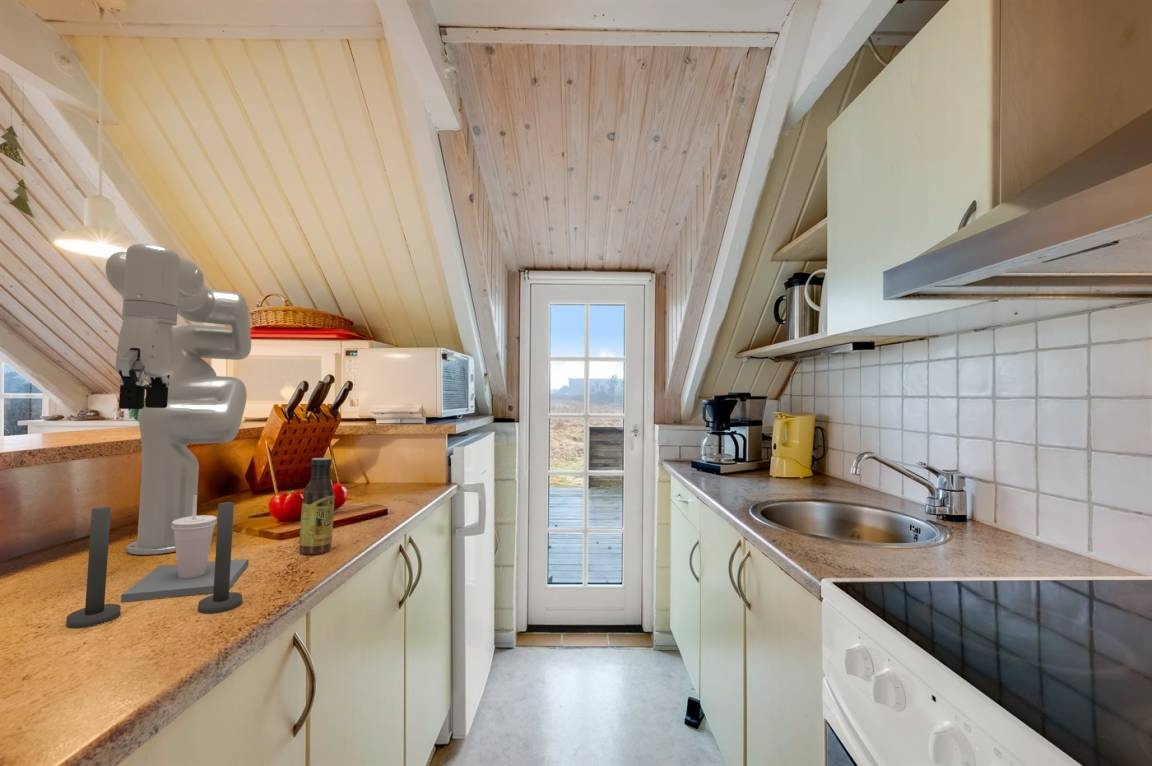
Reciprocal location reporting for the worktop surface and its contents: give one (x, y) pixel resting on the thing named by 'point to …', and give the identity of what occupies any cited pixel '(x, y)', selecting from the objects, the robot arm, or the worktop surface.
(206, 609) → the post
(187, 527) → the smoothie
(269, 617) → the worktop surface
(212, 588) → the slate board
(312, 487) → the sauce bottle
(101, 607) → the post
